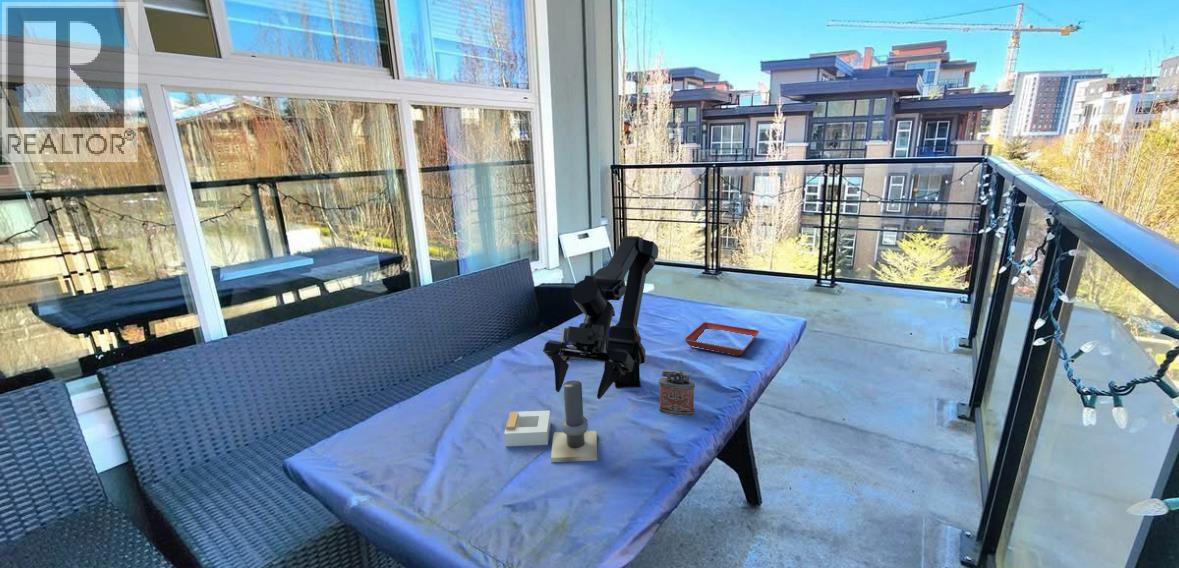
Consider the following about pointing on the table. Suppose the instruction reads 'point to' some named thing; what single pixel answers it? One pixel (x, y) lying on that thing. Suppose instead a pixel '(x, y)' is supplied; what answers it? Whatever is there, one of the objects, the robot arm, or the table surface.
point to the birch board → (567, 454)
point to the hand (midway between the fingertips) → (577, 394)
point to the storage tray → (564, 337)
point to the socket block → (527, 428)
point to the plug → (574, 415)
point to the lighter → (676, 393)
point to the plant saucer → (698, 331)
